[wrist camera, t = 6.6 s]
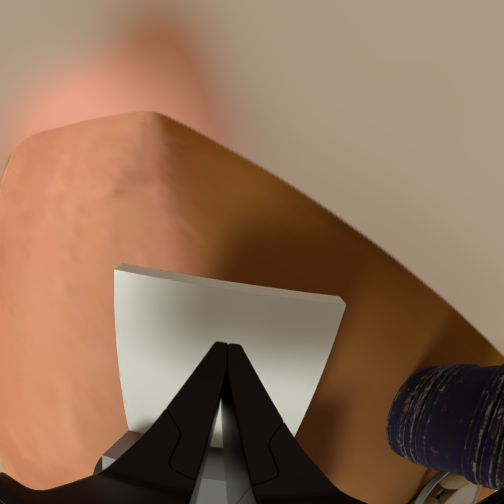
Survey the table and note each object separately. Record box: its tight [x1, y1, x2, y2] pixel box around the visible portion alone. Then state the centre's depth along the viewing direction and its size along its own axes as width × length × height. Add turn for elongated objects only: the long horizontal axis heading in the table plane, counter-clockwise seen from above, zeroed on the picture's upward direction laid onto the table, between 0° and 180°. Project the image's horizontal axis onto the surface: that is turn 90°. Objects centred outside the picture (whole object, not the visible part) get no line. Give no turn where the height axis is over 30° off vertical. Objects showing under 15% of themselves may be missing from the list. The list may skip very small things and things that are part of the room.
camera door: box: [114, 263, 346, 448], centre depth 14 cm, size 2×11×12 cm
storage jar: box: [387, 363, 504, 490], centre depth 12 cm, size 10×10×15 cm
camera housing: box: [93, 430, 228, 504], centre depth 12 cm, size 8×13×6 cm, turn 83°
